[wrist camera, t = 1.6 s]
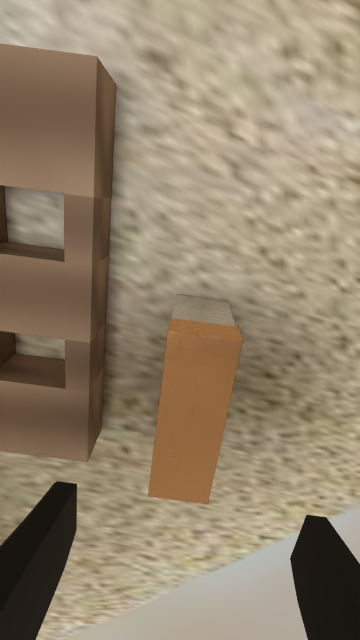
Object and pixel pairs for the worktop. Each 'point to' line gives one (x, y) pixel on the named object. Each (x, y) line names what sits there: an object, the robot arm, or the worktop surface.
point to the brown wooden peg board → (55, 264)
